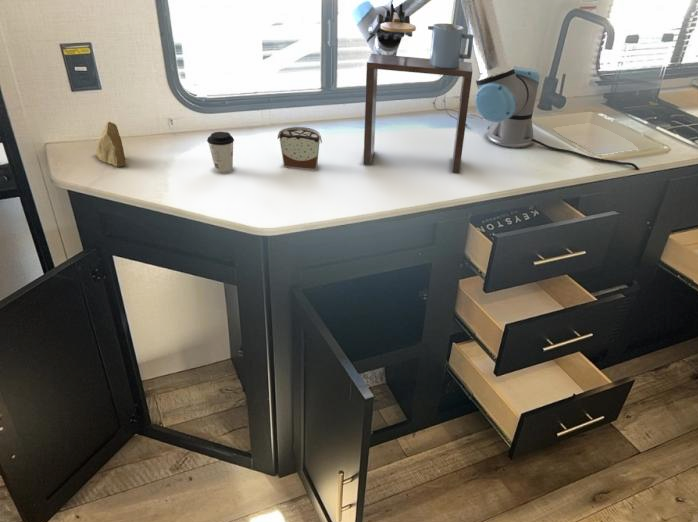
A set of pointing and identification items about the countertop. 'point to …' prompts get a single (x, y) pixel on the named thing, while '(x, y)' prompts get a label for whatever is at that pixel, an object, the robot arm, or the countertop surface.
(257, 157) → the countertop surface
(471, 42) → the jug
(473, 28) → the robot arm
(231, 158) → the coffee cup
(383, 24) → the lid
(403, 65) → the riser
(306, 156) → the food container
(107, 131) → the rock
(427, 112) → the countertop surface
